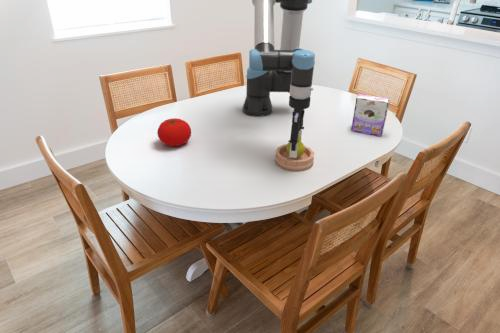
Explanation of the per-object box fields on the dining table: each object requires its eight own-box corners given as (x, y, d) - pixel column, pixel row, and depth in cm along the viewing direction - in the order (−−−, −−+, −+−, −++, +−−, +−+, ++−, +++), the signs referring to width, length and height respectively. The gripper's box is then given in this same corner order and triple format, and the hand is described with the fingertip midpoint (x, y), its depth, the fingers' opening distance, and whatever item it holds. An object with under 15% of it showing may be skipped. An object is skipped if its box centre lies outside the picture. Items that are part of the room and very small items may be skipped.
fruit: (290, 162, 142) (293, 133, 136) (282, 154, 147) (284, 126, 141) (306, 159, 145) (310, 131, 139) (297, 151, 150) (300, 124, 144)
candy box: (383, 132, 172) (390, 98, 164) (381, 137, 167) (388, 102, 159) (352, 126, 177) (358, 93, 168) (350, 131, 172) (356, 97, 164)
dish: (271, 167, 142) (272, 158, 140) (278, 150, 155) (279, 141, 153) (310, 173, 139) (312, 164, 137) (315, 155, 152) (316, 146, 150)
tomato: (180, 133, 167) (178, 111, 161) (198, 143, 159) (196, 120, 154) (152, 143, 158) (149, 120, 153) (169, 154, 150) (167, 130, 145)
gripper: (306, 108, 123) (300, 166, 135) (314, 87, 142) (308, 139, 153) (284, 105, 125) (280, 163, 136) (294, 85, 143) (290, 137, 155)
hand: (295, 150), depth 145 cm, fingers open, 10 cm apart
